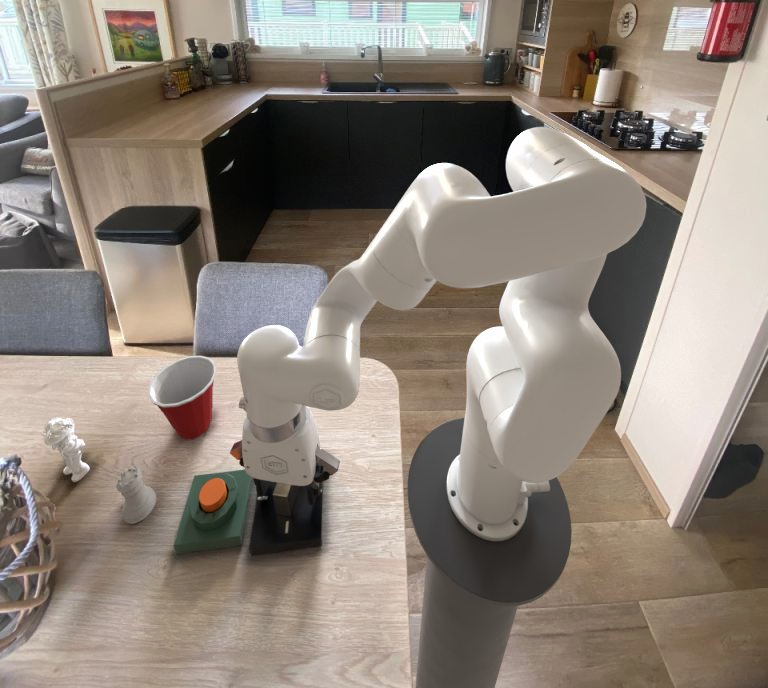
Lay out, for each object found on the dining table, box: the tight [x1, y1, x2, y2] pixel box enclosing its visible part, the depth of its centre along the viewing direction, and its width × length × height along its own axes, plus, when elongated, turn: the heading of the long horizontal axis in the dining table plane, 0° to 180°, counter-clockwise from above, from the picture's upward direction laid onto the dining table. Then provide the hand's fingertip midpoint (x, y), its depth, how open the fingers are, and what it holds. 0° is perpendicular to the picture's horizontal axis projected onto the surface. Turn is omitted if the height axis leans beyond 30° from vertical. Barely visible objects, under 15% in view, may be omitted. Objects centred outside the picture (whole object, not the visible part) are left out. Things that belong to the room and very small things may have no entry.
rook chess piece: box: [115, 466, 157, 524], centre depth 58 cm, size 4×4×8 cm
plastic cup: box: [147, 355, 217, 441], centre depth 70 cm, size 11×11×12 cm
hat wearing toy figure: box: [41, 417, 90, 483], centre depth 63 cm, size 9×4×12 cm, turn 60°
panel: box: [248, 481, 325, 557], centre depth 60 cm, size 10×12×2 cm
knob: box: [273, 482, 300, 517], centre depth 59 cm, size 6×2×5 cm, turn 172°
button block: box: [173, 468, 254, 555], centre depth 59 cm, size 9×9×4 cm
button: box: [199, 478, 227, 513], centre depth 58 cm, size 4×4×2 cm
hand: (289, 489), depth 59 cm, fingers open, 7 cm apart
